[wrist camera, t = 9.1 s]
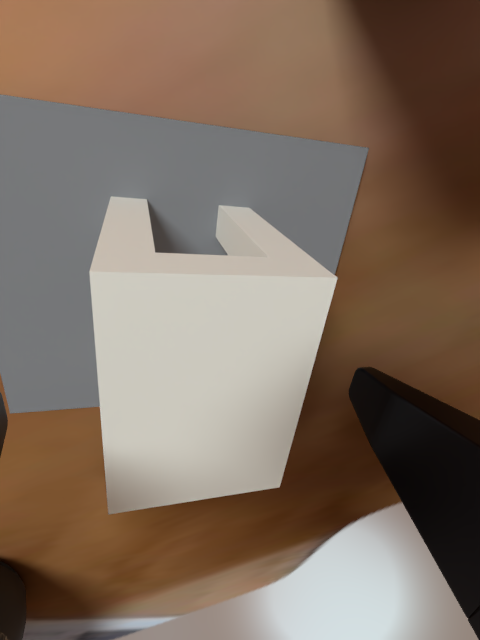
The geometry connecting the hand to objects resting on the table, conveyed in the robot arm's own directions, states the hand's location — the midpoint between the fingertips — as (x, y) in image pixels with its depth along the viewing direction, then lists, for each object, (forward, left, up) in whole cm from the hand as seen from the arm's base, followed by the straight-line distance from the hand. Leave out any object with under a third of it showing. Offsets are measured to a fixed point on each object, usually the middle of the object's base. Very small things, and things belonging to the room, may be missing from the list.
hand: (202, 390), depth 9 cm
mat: (0, 0, -7) cm, 7 cm away
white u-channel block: (0, 0, -6) cm, 6 cm away
